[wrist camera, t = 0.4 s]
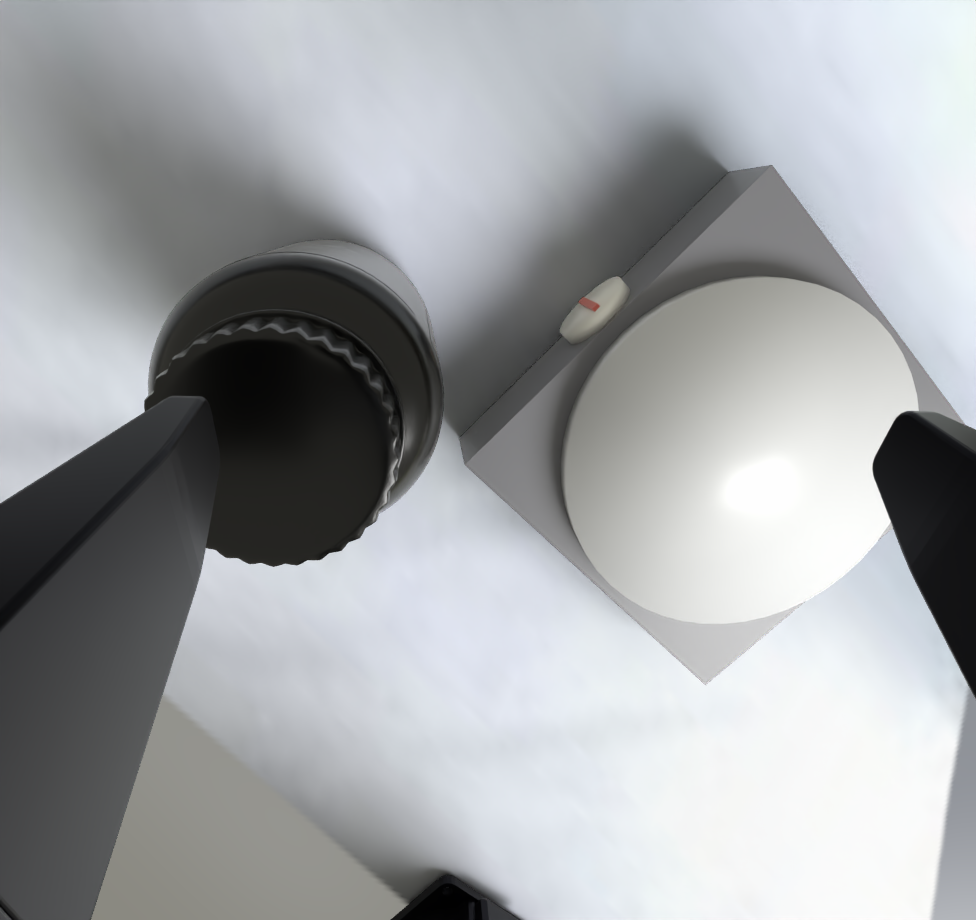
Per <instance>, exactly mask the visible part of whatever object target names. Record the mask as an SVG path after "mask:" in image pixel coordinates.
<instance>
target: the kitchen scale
mask: <svg viewBox="0 0 976 920" xmlns="http://www.w3.org/2000/svg"><path fill="white" fill-rule="evenodd" d="M560 333H561V334H562V335H563V336H562V337H561V338H560V339H559V340H558V341H557V342H556V343H555V344H554V345H553V346H552V347H551V348H550V349H549V350H548V351H547V352H546V353H545V354H544V355H543V356H542V357H541V358H540V359H539V360H538V361H537V362H536V363H535V364H534V365H533V366H532V367H531V368H530V369H529V370H528V371H527V372H526V373H525V374H524V375H523V376H522V377H521V378H520V379H518V380H517V381H516V382H515V383H514V384H513V385H512V386H511V387H510V388H509V389H508V390H507V391H506V392H505V393H504V394H503V395H502V396H501V397H500V398H499V399H498V400H497V401H496V402H495V403H494V404H493V405H492V406H491V407H490V408H489V409H488V410H487V411H486V412H485V413H484V414H483V415H482V416H481V417H480V418H479V419H478V420H477V421H476V422H475V423H474V424H473V425H472V426H471V427H470V428H469V429H468V430H467V431H466V432H465V433H464V434H463V435H462V436H461V437H460V438H459V439H460V444H461V449H462V454H463V459H464V464H465V465H466V466H467V467H468V468H469V469H470V470H471V471H472V472H473V473H474V474H475V475H476V476H478V477H479V478H480V479H481V480H482V481H483V482H484V483H485V484H486V485H487V486H488V487H490V488H491V489H492V490H493V491H494V492H495V493H496V494H497V495H498V496H499V497H500V498H502V499H503V500H504V501H505V502H506V503H507V504H508V505H509V506H510V507H511V508H512V509H514V510H515V511H516V512H517V513H518V514H519V515H520V516H521V517H522V518H523V519H525V520H526V521H527V522H528V523H529V524H530V525H531V526H532V527H533V528H534V529H535V530H537V531H538V532H539V533H540V534H541V535H542V536H543V537H544V538H545V539H546V540H547V541H549V542H550V543H551V544H552V545H553V546H554V547H555V548H556V549H557V550H558V551H559V552H561V553H562V554H563V555H564V556H565V557H566V558H567V559H568V560H569V561H570V562H571V563H573V564H574V565H575V566H576V567H577V568H578V569H579V570H580V571H581V572H582V573H583V574H585V575H586V576H587V577H588V578H589V579H590V580H591V581H592V582H593V583H594V584H595V585H597V586H598V587H599V588H600V589H601V590H602V591H603V592H604V593H605V594H606V595H608V596H609V597H610V598H611V599H612V600H613V601H614V602H615V603H616V604H617V605H618V606H620V607H621V608H622V609H623V610H624V611H625V612H626V613H627V614H628V615H629V616H630V617H632V618H633V619H634V620H635V621H636V622H637V623H638V624H639V625H640V626H641V627H642V628H644V629H645V630H646V631H647V632H648V633H649V634H650V635H651V636H652V637H653V638H654V639H656V640H657V641H658V642H659V643H660V644H661V645H662V646H663V647H664V648H665V649H666V650H668V651H669V652H670V653H671V654H672V655H673V656H674V657H675V658H676V659H677V660H678V661H680V662H681V663H682V664H683V665H684V666H685V667H686V668H687V669H688V670H689V671H691V672H692V673H693V674H694V675H695V676H696V677H697V678H698V679H699V680H700V681H701V682H703V683H704V684H705V685H706V684H707V683H708V682H710V681H711V680H712V679H713V678H714V677H716V676H717V675H718V674H719V673H720V672H722V671H723V670H724V669H725V668H726V667H728V666H729V665H730V664H731V663H732V662H734V661H735V660H736V659H737V658H738V657H740V656H741V655H742V654H743V653H744V652H746V651H747V650H748V649H749V648H750V647H752V646H753V645H754V644H755V643H756V642H757V641H759V640H760V639H761V638H762V637H763V636H765V635H766V634H767V633H768V632H769V631H771V630H772V629H773V628H774V627H775V626H777V625H778V624H779V623H780V622H781V621H783V620H784V619H785V618H786V617H787V616H789V615H790V614H791V613H792V612H793V611H795V610H796V609H797V608H798V607H799V606H801V605H802V604H803V603H804V602H805V601H807V600H809V599H810V598H812V597H814V596H815V595H817V594H819V593H820V592H822V591H824V590H825V589H827V588H828V587H830V586H831V585H832V584H834V583H835V582H836V581H838V580H839V579H840V578H842V577H843V576H844V575H845V574H846V573H847V572H849V571H850V570H851V569H852V568H853V567H854V566H855V565H856V564H857V563H858V562H859V561H860V560H862V558H863V557H864V556H865V555H866V554H867V553H868V552H869V550H870V549H871V548H872V547H873V546H874V545H875V544H876V542H877V541H878V540H879V539H881V538H882V537H883V536H884V535H885V534H887V533H888V532H889V531H890V530H891V529H893V526H892V524H891V521H890V519H889V516H888V513H887V511H886V508H885V506H884V503H883V500H882V498H881V495H880V493H879V490H878V487H877V485H876V482H875V480H874V476H873V471H872V465H873V460H874V457H875V455H876V453H877V451H878V450H879V448H880V446H881V444H882V442H883V440H884V438H885V437H886V435H887V433H888V431H889V429H890V427H891V425H892V424H893V422H894V420H895V419H896V417H897V416H898V415H900V414H901V413H903V412H905V411H933V412H937V413H940V414H942V415H944V416H947V417H949V418H951V419H953V420H955V421H958V422H960V423H962V424H964V422H963V421H962V420H961V418H960V417H959V416H958V414H957V413H956V411H955V410H954V409H953V407H952V406H951V405H950V403H949V402H948V401H947V399H946V398H945V397H944V395H943V394H942V393H941V391H940V390H939V389H938V387H937V386H936V385H935V383H934V382H933V381H932V379H931V378H930V377H929V375H928V374H927V373H926V371H925V370H924V368H923V367H922V366H921V364H920V363H919V362H918V360H917V359H916V358H915V356H914V355H913V354H912V352H911V351H910V350H909V348H908V347H907V346H906V344H905V343H904V342H903V340H902V339H901V338H900V336H899V335H898V334H897V332H896V331H895V330H894V328H893V327H892V325H891V324H890V323H889V321H888V320H887V319H886V317H885V316H884V315H883V313H882V312H881V311H880V309H879V308H878V307H877V305H876V304H875V303H874V301H873V300H872V299H871V297H870V296H869V295H868V293H867V292H866V291H865V289H864V288H863V286H862V285H861V284H860V282H859V281H858V280H857V278H856V277H855V276H854V274H853V273H852V272H851V270H850V269H849V268H848V266H847V265H846V264H845V262H844V261H843V260H842V258H841V257H840V256H839V254H838V253H837V252H836V250H835V249H834V248H833V246H832V245H831V243H830V242H829V241H828V239H827V238H826V237H825V235H824V234H823V233H822V231H821V230H820V229H819V227H818V226H817V225H816V223H815V222H814V221H813V219H812V218H811V217H810V215H809V214H808V213H807V211H806V210H805V209H804V207H803V206H802V204H801V203H800V202H799V200H798V199H797V198H796V196H795V195H794V194H793V192H792V191H791V190H790V188H789V187H788V186H787V184H786V183H785V182H784V180H783V179H782V178H781V176H780V175H779V174H778V172H777V171H776V170H775V168H774V167H773V166H772V165H769V166H762V167H756V168H750V169H743V170H737V171H730V172H728V173H727V174H726V175H725V176H724V177H723V178H722V179H721V180H720V181H719V182H718V183H717V184H716V185H715V186H714V187H713V188H712V189H711V190H710V191H709V192H708V193H707V194H706V195H705V196H704V197H703V198H702V199H701V200H700V201H699V202H698V203H697V204H696V205H695V206H694V207H693V208H692V209H691V210H690V211H689V212H688V213H687V214H686V215H685V216H684V217H683V218H682V219H681V220H680V221H679V222H678V223H677V224H676V225H675V226H674V227H673V228H672V229H671V230H670V231H669V232H668V233H667V234H666V235H665V236H664V237H663V238H661V239H660V240H659V241H658V242H657V243H656V244H655V245H654V246H653V247H652V248H651V249H650V250H649V251H648V252H647V253H646V254H645V255H644V256H643V257H642V258H641V259H640V260H639V261H638V262H637V263H636V264H635V265H634V266H633V267H632V268H631V269H630V270H629V271H628V272H627V273H626V274H625V275H624V276H623V277H622V278H620V277H618V276H616V277H612V278H610V279H608V280H606V281H604V282H603V283H601V284H600V285H598V286H597V287H596V288H594V289H593V290H592V291H591V292H590V293H588V294H587V295H586V296H585V297H582V298H581V299H580V300H579V301H578V304H577V305H576V306H575V307H574V308H573V309H572V311H571V312H570V313H569V314H568V316H567V317H566V318H565V320H564V321H563V323H562V325H561V327H560ZM964 425H965V424H964Z"/></svg>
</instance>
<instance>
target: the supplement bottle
mask: <svg viewBox="0 0 976 920" xmlns="http://www.w3.org/2000/svg"><path fill="white" fill-rule="evenodd" d="M170 396H201V397H204V398H205V399H206V400H207V401H208V403H209V405H210V408H211V412H212V417H213V422H214V427H215V431H216V436H217V441H218V446H219V451H220V469H219V475H218V481H217V487H216V492H215V498H214V503H213V509H212V515H211V520H210V526H209V532H208V537H207V543H206V548H209V549H214V550H217V551H218V552H219V553H220V554H221V555H223V556H224V557H226V558H239V559H241V560H242V561H244V562H246V563H248V564H256V563H264V564H266V565H269V566H273V567H274V566H279V565H282V564H285V563H286V564H291V565H299V564H301V563H303V562H305V561H307V560H321V559H322V558H324V557H325V556H326V555H327V554H329V553H332V552H338V551H342V550H343V548H344V547H345V546H346V544H347V543H348V542H351V541H353V540H356V539H358V538H360V537H361V536H362V534H363V532H364V530H365V528H366V527H368V526H370V525H372V524H373V523H375V522H376V521H377V518H378V515H379V514H380V513H381V512H383V511H385V510H386V509H388V508H389V507H390V506H392V505H393V504H394V503H395V502H397V501H398V500H399V499H400V498H401V497H402V496H403V495H404V494H405V493H406V492H407V491H408V490H409V489H410V488H411V487H412V486H413V485H414V483H415V482H416V481H417V479H418V478H419V477H420V475H421V474H422V472H423V471H424V469H425V467H426V466H427V464H428V462H429V460H430V458H431V456H432V454H433V452H434V449H435V446H436V443H437V440H438V437H439V433H440V429H441V424H442V416H443V397H444V392H443V381H442V374H441V369H440V364H439V359H438V354H437V349H436V344H435V339H434V334H433V329H432V324H431V321H430V318H429V315H428V312H427V309H426V307H425V304H424V302H423V300H422V298H421V296H420V294H419V293H418V291H417V290H416V288H415V287H414V285H413V284H412V283H411V281H410V280H409V279H408V277H407V276H406V275H405V274H404V273H403V272H402V271H401V270H400V269H399V268H398V267H396V266H395V265H394V264H393V263H392V262H390V261H389V260H388V259H386V258H385V257H383V256H382V255H380V254H378V253H376V252H375V251H372V250H370V249H368V248H366V247H363V246H360V245H357V244H355V243H350V242H346V241H340V240H329V239H320V240H310V241H304V242H298V243H294V244H291V245H287V246H284V247H281V248H277V249H274V250H271V251H268V252H264V253H261V254H258V255H254V256H251V257H248V258H245V259H242V260H240V261H237V262H235V263H232V264H230V265H227V266H226V267H224V268H222V269H220V270H218V271H216V272H215V273H213V274H211V275H210V276H208V277H207V278H206V279H204V280H203V281H201V282H200V283H198V284H197V285H196V286H195V287H194V288H193V289H191V290H190V291H189V292H188V293H187V294H186V295H185V296H184V297H183V298H182V299H181V300H180V301H179V303H178V304H177V305H176V306H175V308H174V309H173V310H172V312H171V313H170V315H169V316H168V318H167V320H166V321H165V323H164V325H163V327H162V329H161V331H160V333H159V336H158V338H157V340H156V343H155V347H154V350H153V353H152V357H151V362H150V367H149V378H148V396H147V397H146V399H145V404H144V408H145V412H146V411H147V410H149V409H150V408H152V407H154V406H155V405H157V404H158V403H160V402H161V401H163V400H165V399H166V398H168V397H170Z"/></svg>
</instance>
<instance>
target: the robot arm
mask: <svg viewBox="0 0 976 920" xmlns="http://www.w3.org/2000/svg"><path fill="white" fill-rule="evenodd" d="M219 469H220V451H219V446H218V441H217V436H216V431H215V427H214V422H213V417H212V412H211V408H210V405H209V403H208V401H207V400H206V399H205V398H204V397H201V396H170V397H168V398H166V399H165V400H163V401H161V402H160V403H158V404H157V405H155V406H154V407H152V408H150V409H149V410H147V411H146V412H144V413H142V414H141V415H139V416H138V417H136V418H135V419H133V420H131V421H130V422H128V423H127V424H125V425H123V426H122V427H120V428H119V429H117V430H116V431H114V432H112V433H111V434H109V435H108V436H106V437H105V438H103V439H101V440H100V441H98V442H97V443H95V444H93V445H92V446H90V447H89V448H87V449H86V450H84V451H82V452H81V453H79V454H78V455H76V456H74V457H73V458H71V459H70V460H68V461H67V462H65V463H63V464H62V465H60V466H59V467H57V468H56V469H54V470H52V471H51V472H49V473H48V474H46V475H44V476H43V477H41V478H40V479H38V480H37V481H35V482H33V483H32V484H30V485H29V486H27V487H25V488H24V489H22V490H21V491H19V492H18V493H16V494H14V495H13V496H11V497H10V498H8V499H6V500H5V501H3V502H2V503H0V920H91V917H92V914H93V911H94V908H95V905H96V902H97V898H98V895H99V892H100V889H101V886H102V882H103V880H104V876H105V873H106V870H107V867H108V864H109V861H110V858H111V855H112V851H113V848H114V845H115V842H116V839H117V836H118V832H119V829H120V826H121V823H122V820H123V817H124V814H125V811H126V808H127V804H128V801H129V798H130V795H131V792H132V789H133V785H134V782H135V779H136V776H137V773H138V770H139V767H140V763H141V760H142V757H143V754H144V751H145V748H146V744H147V741H148V738H149V735H150V732H151V729H152V726H153V723H154V719H155V717H156V713H157V710H158V707H159V704H160V701H161V698H162V695H163V691H164V688H165V685H166V682H167V679H168V676H169V673H170V670H171V666H172V663H173V660H174V657H175V654H176V651H177V648H178V644H179V641H180V638H181V635H182V632H183V629H184V626H185V622H186V619H187V616H188V613H189V610H190V607H191V604H192V600H193V597H194V594H195V591H196V588H197V584H198V581H199V577H200V574H201V569H202V564H203V559H204V554H205V548H206V543H207V537H208V532H209V526H210V520H211V515H212V509H213V503H214V498H215V492H216V487H217V481H218V475H219ZM872 471H873V476H874V480H875V482H876V485H877V487H878V490H879V493H880V495H881V498H882V500H883V503H884V506H885V508H886V511H887V513H888V516H889V519H890V521H891V524H892V526H893V529H894V532H895V534H896V537H897V540H898V542H899V545H900V547H901V550H902V553H903V555H904V557H905V560H906V562H907V565H908V567H909V569H910V572H911V574H912V576H913V578H914V580H915V582H916V584H917V586H918V588H919V590H920V592H921V594H922V596H923V598H924V600H925V602H926V604H927V606H928V608H929V609H930V611H931V613H932V615H933V617H934V619H935V621H936V623H937V625H938V627H939V629H940V631H941V633H942V635H943V637H944V639H945V641H946V643H947V645H948V647H949V649H950V651H951V652H952V654H953V656H954V658H955V660H956V662H957V664H958V666H959V668H960V670H961V672H962V674H963V676H964V678H965V680H966V682H967V684H968V686H969V688H970V690H971V692H972V694H973V695H974V697H975V699H976V430H975V429H973V428H971V427H969V426H966V425H964V424H962V423H960V422H958V421H955V420H953V419H951V418H949V417H947V416H944V415H942V414H940V413H937V412H933V411H905V412H903V413H901V414H900V415H898V416H897V417H896V419H895V420H894V422H893V424H892V425H891V427H890V429H889V431H888V433H887V435H886V437H885V438H884V440H883V442H882V444H881V446H880V448H879V450H878V451H877V453H876V455H875V457H874V460H873V465H872ZM446 887H448V888H446ZM391 920H519V919H517V918H516V917H514V916H513V915H511V914H510V913H508V912H507V911H505V910H504V909H502V908H501V907H499V906H498V905H496V904H495V903H493V902H491V901H490V900H488V899H487V898H485V897H484V896H482V895H481V894H479V893H478V892H476V891H475V890H473V889H472V888H470V887H469V886H467V885H466V884H464V883H463V882H461V881H460V880H458V879H457V878H455V877H453V876H449V875H447V876H443V877H441V878H439V879H438V880H437V881H436V882H435V883H434V884H432V885H431V886H430V887H429V888H428V889H426V890H425V891H424V892H423V893H422V894H421V895H419V896H418V897H417V898H416V899H415V900H413V901H412V902H411V903H410V904H409V905H408V906H406V907H405V908H404V909H403V910H402V911H400V912H399V913H398V914H397V915H396V916H395V917H393V918H392V919H391Z"/></svg>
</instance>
